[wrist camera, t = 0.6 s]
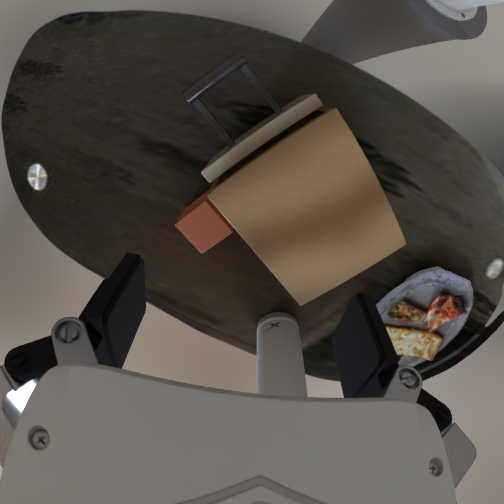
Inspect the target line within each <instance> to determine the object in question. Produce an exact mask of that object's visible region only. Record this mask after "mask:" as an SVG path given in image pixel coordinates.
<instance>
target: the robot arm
mask: <svg viewBox="0 0 504 504" xmlns="http://www.w3.org/2000/svg"><path fill="white" fill-rule="evenodd" d="M425 1H426V2H427V3H428V4H429V5H430V6H431V7H433V8H434V9H435V10H437V11H438V12H440V13H441V14H443V15H445V16H446V17H448V18H451V19H454V20H459V21H463V20H469V19H471V18H473V17H474V16H475V14H476V13H477V9H478V7H479V6H484V5H489V4H495V3H502V2H504V0H425ZM145 310H146V296H145V275H144V260H143V259H141V258H140V255H137V254H132V253H126V255H125V256H124V257H123V259H122V260H121V262H120V263H119V264H118V266H117V267H116V269H115V270H114V272H113V273H112V274H111V276H110V277H109V279H107V278H106V279H104V280H103V281H102V283H101V284H100V286H99V287H98V289H97V290H96V292H95V293H94V294H93V296H92V297H91V299H90V301H89V302H88V304H87V305H86V307H85V308H84V310H83V311H82V313H81V315H80V316H79V318H75V317H66V318H63V319H60V320H59V321H57V322H56V323H55V325H54V326H53V328H52V333H51V336H48V337H45V338H42V339H39V340H36V341H33V342H30V343H27V344H24V345H21V346H18V347H16V348H14V349H12V350H11V351H9V352H8V354H7V355H6V357H5V363H4V365H2V366H0V465H1V466H2V468H3V471H2V475H1V480H0V504H457V502H456V495H455V488H456V487H457V485H458V484H459V482H460V481H461V480H462V478H463V477H464V475H465V474H466V472H467V471H468V469H469V468H470V466H471V465H472V463H473V462H474V460H475V458H476V448H475V446H474V445H473V443H472V442H471V441H470V440H469V439H468V437H467V436H466V435H465V434H464V433H463V431H462V430H461V429H460V428H459V427H458V426H457V424H456V423H454V424H452V423H451V422H452V415H451V412H450V410H449V408H448V407H447V406H446V405H445V404H443V403H442V402H440V401H439V400H437V399H436V398H435V397H433V396H432V395H430V394H429V393H428V392H426V391H425V390H423V389H422V388H421V387H422V378H421V376H420V374H419V373H418V371H417V370H415V369H414V368H413V367H411V366H407V365H402V366H399V363H398V362H399V361H400V360H399V358H398V355H397V353H396V351H395V348H394V346H393V343H392V341H391V339H390V336H389V334H388V332H387V329H386V327H385V325H384V322H383V320H382V318H381V316H380V314H379V311H378V309H377V307H376V305H375V303H374V301H373V298H372V296H371V295H370V294H365V293H358V294H357V295H354V296H353V297H352V299H351V301H350V303H349V305H348V307H347V309H346V311H345V313H344V315H343V317H342V319H341V320H340V322H339V324H338V326H337V328H336V330H335V331H334V333H333V335H332V346H333V350H334V354H335V359H336V363H337V368H338V372H339V377H340V381H341V386H342V390H343V395H344V398H314V397H313V398H312V397H293V396H278V395H266V394H255V393H245V392H238V391H230V390H223V389H215V388H210V387H204V386H198V385H192V384H186V383H182V382H177V381H172V380H167V379H163V378H158V377H153V376H149V375H145V374H140V373H136V372H132V371H128V370H124V369H122V367H123V364H124V362H125V359H126V357H127V354H128V352H129V349H130V347H131V344H132V342H133V340H134V337H135V335H136V332H137V330H138V328H139V325H140V323H141V321H142V318H143V316H144V314H145ZM20 415H21V416H20Z"/></svg>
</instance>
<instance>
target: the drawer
mask: <svg viewBox="0 0 504 504" xmlns="http://www.w3.org/2000/svg"><path fill="white" fill-rule="evenodd" d="M246 64H247V62H246V60H245V59H244V58H243V56H242V55H241V54H240V53H239V52H235V53H234V54H233V55H231V56H230V57H228V58H227V59H225V60H224V61H222V62H221V63H220V64H218V65H217V66H215V67H214V68H213V69H211V70H210V71H209V72H207V73H206V74H205V75H203V76H202V77H201V78H200V79H198V80H197V81H196V82H194V83H193V84H192V85H191V86H189V87H188V88H187V89H186V90H185V91H183V92H182V95H183V97H184V98H185V99H186V100H187V101H188V102H189V103H191V104H192V103H193V104H194V105H195V106H196V107H197V108H198V110H199V111H200V112H201V113H202V114H203V115H204V117H205V118H206V119H207V120H208V121H209V123H210V124H211V125H212V126H213V127H214V129H215V130H216V131H217V132H218V134H219V135H220V136H221V137H222V138H223V140H224V141H225V142H226V143H227V145H228V146H226V147H225V148H224V149H223V150H221V151H220V152H219V153H217V154H216V155H215V156H213V158H212V159H211V160H210V162H209V163H208V164H207V165H206V167H205V168H204V169H203V171H202V172H201V174H202V175H203V176H204V177H205V178H206V179H207V181H208V182H209V183H211V182H212V181H213V180H215V179H216V178H217V177H219V176H220V175H221V174H223V173H224V172H225V171H227V170H228V169H230V168H231V167H232V166H234V165H235V164H236V163H238V162H239V161H241V160H242V159H243V158H245V157H246V156H247V155H249V154H250V153H252V152H253V151H255V150H256V149H257V148H259V147H260V146H262V145H263V144H265V143H266V142H268V141H269V140H271V139H272V138H273V137H275V136H276V135H278V134H279V133H281V132H282V131H284V130H285V129H287V128H289V127H290V126H292V125H293V124H295V123H296V122H298V121H299V120H301V119H302V118H304V117H306V116H307V115H309V114H310V113H312V112H314V111H315V110H317V109H319V108H320V107H322V106H323V104H322V102H321V101H320V99H319V98H318V96H317V95H316V94H308V95H301V96H300V97H298V98H296V99H295V100H293V101H292V102H290V103H289V104H287V105H285V106H284V107H282V108H280V106H279V105H278V104H277V102H276V101H275V100H274V98H273V97H272V96H271V95H270V93H269V92H268V91H267V89H266V88H265V87H264V86H263V84H262V83H261V82H260V81H259V80H258V78H257V77H256V76H255V75H254V73H253V72H252V71H251V70H250V69H249V67H248V66H247V65H246ZM239 68H240V69H241V70H242V71H243V73H244V74H245V75H246V76H247V77H248V79H249V80H250V81H251V82H252V83H253V85H254V86H255V87H256V88H257V90H258V91H259V92H260V93H261V95H262V96H263V97H264V98H265V100H266V101H267V102H268V104H269V105H270V106H271V107H272V109H273V110H274V111H275V113H273V114H272V115H270V116H269V117H267V118H266V119H264V120H263V121H261V122H260V123H258V124H257V125H256V126H254V127H253V128H251V129H250V130H248V131H247V132H246V133H244V134H243V135H241V136H240V137H239V138H237V139H236V140H235V141H234V140H233V139H232V137H231V136H230V135H229V134H228V132H227V131H226V130H225V129H224V128H223V126H222V125H221V124H220V123H219V121H218V120H217V119H216V118H215V117H214V115H213V114H212V113H211V112H210V111H209V109H208V108H207V107H206V106H205V105H204V104H203V102H202V101H201V100H200V99H199V98H200V97H201V96H202V95H204V94H205V93H206V92H208V91H209V90H210V89H211V88H213V87H214V86H215V85H217V84H218V83H219V82H221V81H222V80H224V79H225V78H226V77H228V76H229V75H231V74H232V73H233V72H235V71H236V70H238V69H239ZM312 120H313V119H311V118H310V119H309V120H307V121H305V122H304V123H302V124H301V125H299V126H298V127H296V128H294V129H293V130H291V131H290V132H288V133H287V134H285V135H284V136H282V137H281V138H279V139H278V140H276V141H275V142H273V143H272V144H270V145H269V146H267V147H266V148H265V149H263V150H262V151H260V152H259V153H257V154H256V155H254V156H253V157H252V158H250V159H249V160H247V161H246V162H245V163H243V164H242V165H240V166H239V167H238V168H236V169H235V170H233V172H232V174H234V173H235V172H236V171H238V170H239V169H241V168H242V167H243V166H245V165H246V164H248V163H249V162H250V161H252V160H253V159H255V158H256V157H258V156H259V155H260V154H262V153H263V152H265V151H266V150H268V149H269V148H271V147H272V146H274V145H275V144H276V143H278V142H279V141H281V140H282V139H284V138H285V137H287V136H289V135H290V134H292V133H293V132H295V131H296V130H298V129H299V128H301V127H302V126H304V125H306V124H307V123H309V122H310V121H312Z"/></svg>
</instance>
